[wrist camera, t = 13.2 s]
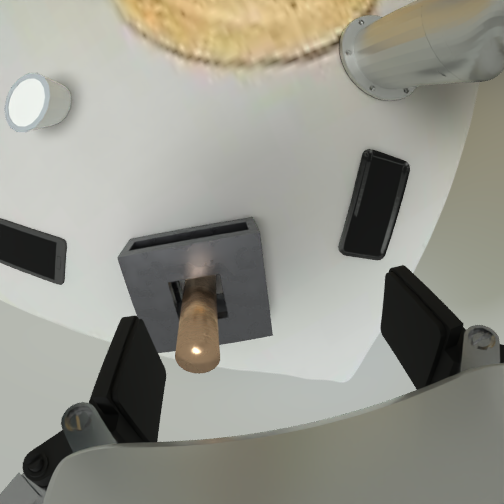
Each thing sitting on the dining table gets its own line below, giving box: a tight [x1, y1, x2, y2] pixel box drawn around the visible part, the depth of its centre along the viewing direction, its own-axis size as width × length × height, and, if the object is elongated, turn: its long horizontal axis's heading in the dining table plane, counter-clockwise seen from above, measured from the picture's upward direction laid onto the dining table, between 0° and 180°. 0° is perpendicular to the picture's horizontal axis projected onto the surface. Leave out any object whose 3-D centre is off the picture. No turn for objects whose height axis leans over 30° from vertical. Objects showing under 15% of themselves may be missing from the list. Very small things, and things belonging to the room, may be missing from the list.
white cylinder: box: [5, 73, 72, 132], centre depth 26 cm, size 7×7×7 cm
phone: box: [338, 149, 410, 260], centre depth 39 cm, size 8×1×15 cm
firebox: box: [118, 217, 273, 353], centre depth 37 cm, size 16×14×6 cm
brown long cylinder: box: [175, 275, 220, 373], centre depth 33 cm, size 4×4×16 cm
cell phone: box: [0, 218, 67, 285], centre depth 35 cm, size 7×14×1 cm, turn 71°
